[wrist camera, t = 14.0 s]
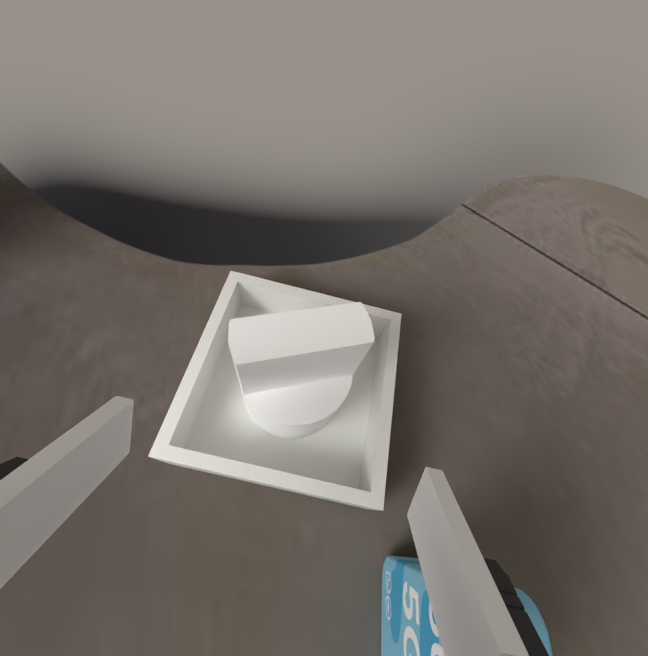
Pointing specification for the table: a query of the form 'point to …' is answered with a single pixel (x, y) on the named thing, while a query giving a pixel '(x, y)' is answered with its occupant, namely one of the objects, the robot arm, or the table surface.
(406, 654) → the data package
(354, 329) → the base with upright slab
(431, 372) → the table surface
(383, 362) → the bin
